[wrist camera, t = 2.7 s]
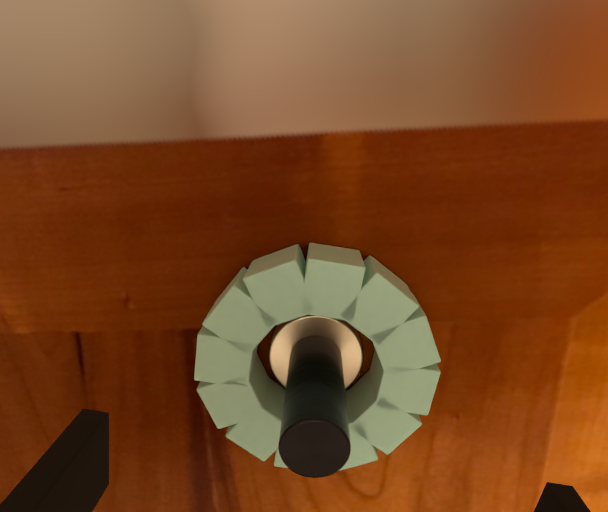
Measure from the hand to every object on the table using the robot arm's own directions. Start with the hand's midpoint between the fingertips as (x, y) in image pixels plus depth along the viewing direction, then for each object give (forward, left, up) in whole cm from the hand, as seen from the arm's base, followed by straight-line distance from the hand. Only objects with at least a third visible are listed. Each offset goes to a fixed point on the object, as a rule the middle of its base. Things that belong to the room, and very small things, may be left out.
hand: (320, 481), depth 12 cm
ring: (0, 0, -8) cm, 8 cm away
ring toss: (0, 0, -8) cm, 8 cm away
